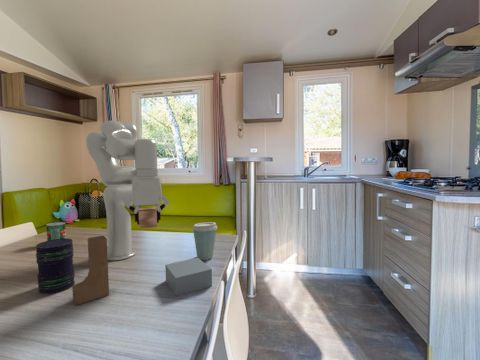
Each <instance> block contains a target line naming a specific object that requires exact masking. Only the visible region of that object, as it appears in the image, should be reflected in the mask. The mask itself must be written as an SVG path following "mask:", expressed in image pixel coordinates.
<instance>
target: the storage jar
mask: <svg viewBox="0 0 480 360" xmlns="http://www.w3.org/2000/svg"><path fill="white" fill-rule="evenodd" d="M35 249H36V250H35V252H36V253H35V258H36V260H35V261H36V264H37V266H38V267H37V268H38V274H37V285H38V293H39V294H40V295H55V294H59V293H61V292H65V291H67V290H69V289H71V288H72V287H73V285H75V284H76V283H75V276H76V273H75V267H74V261H73V259H74V258H73V257H74V245H73V239H72V238H66V239H55V240H49V241H47V240H46V241H42V242H39V243H37V244H36V246H35Z"/></svg>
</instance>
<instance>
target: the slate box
mask: <svg viewBox="0 0 480 360" xmlns="http://www.w3.org/2000/svg"><path fill="white" fill-rule="evenodd" d="M212 271H213V269H212V268H211V267H210V266H209V265H208V264H206V263H205V262H204V260H201V259H199V258H198V257H195V258H194V257H193V258H190V259H186V260H181V261H177V262H172V263H167V264H165V282H166V283H167V285H168V286H169V288H170V289H171V291H172V292H173V293H174V295H175V297H178V296H181V295H186V294H188V293H189V294H190V293H193V292H196V291H199V290H202V289H207V288H209V287H210V288H211V287H213V272H212Z"/></svg>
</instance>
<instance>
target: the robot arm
mask: <svg viewBox="0 0 480 360" xmlns="http://www.w3.org/2000/svg"><path fill="white" fill-rule="evenodd" d="M137 135H138V131H137V127H136V125H135V124H133V123H132V122H129V121H128V122H127V121H120V120H106V121H104V122H103V123H102V124H101V126H100V131H92V132H89V133H88V134H87V136H86V138H85V139H86V140H85V145H86V147H87V151H88V154H89V156H90V157H91V159H92V160H93V161H94V163H95V165H96V168H97V171H98V174H99V177H100V179H101V182H102V184H103V185H104V186H105V188H104V190H103V192H102V193H103V194H102V197H103V202H104V206H105V211H106V212H105V214H106V229H107V230H106V231H107V256H108V261H122V260H126V259H129V258H132V257H134V256H135V255H136V252H137V251H136V249H134V248H132V247H133V244H132V242H133V241H132V221H131V220H132V219H131V214H130V212H129V211H128V210H127V209H126V208H128V209H129V210H130V211H131V212H132V213H134V222H135V223H136V224H137V225H138V226H139V209H140V207H147V206H149V207H150V206H155V208H156V210H157V224H159V222H160V221H161V212H162V210H164V209H165V208H166V207H167V205H168V204H169V203H170V200H169V199H168V198H167V197H166V196H165V195H164V194H163V192H162V191H163V190H162V181H161V177H159V176H158V145H157V142H156V140H154V139H149V138H141V139H140V138H139V139H136V138H137ZM118 161H134V166H130V165H128V166H127V165H119V164H118ZM163 201H164V202H163Z"/></svg>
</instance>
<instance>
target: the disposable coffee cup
mask: <svg viewBox="0 0 480 360" xmlns="http://www.w3.org/2000/svg"><path fill="white" fill-rule="evenodd" d="M217 229H218V225H217V223H216V222H212V221H210V222H209V221H207V222H199V223H195V224H194V225H193V226H192V232H193V238H194V244H195V252H196V258H199V259H200V260H201V261H207V260H211V259H212V258H213V256H214V251H215V243H216V235H217Z"/></svg>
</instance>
